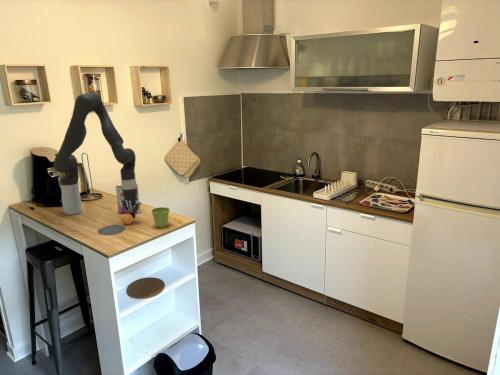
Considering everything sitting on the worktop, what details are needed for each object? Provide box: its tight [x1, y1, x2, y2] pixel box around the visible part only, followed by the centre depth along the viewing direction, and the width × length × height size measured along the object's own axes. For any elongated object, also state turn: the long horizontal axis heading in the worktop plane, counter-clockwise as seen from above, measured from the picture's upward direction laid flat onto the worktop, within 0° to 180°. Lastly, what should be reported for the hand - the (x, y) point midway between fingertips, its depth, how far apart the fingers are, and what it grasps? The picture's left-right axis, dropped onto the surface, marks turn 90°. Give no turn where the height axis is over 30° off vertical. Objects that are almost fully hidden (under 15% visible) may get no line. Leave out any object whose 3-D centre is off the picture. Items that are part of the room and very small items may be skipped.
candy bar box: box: [115, 183, 141, 215], centre depth 215 cm, size 11×5×16 cm, turn 84°
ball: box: [121, 213, 134, 225], centre depth 199 cm, size 6×6×6 cm
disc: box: [97, 224, 126, 236], centre depth 191 cm, size 13×13×1 cm
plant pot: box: [150, 206, 171, 228], centre depth 195 cm, size 9×9×9 cm
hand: (133, 218), depth 202 cm, fingers closed
